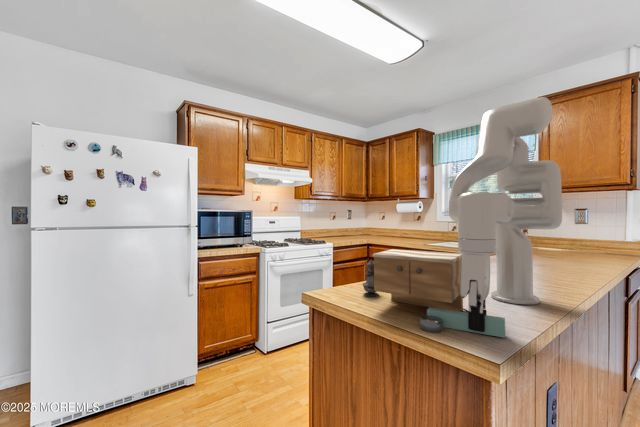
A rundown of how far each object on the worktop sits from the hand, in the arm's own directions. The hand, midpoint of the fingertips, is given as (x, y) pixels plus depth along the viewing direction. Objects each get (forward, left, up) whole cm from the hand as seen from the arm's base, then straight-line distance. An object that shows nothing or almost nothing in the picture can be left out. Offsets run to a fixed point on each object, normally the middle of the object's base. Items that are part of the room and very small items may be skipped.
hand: (477, 327), depth 66 cm
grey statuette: (-15, -33, -1) cm, 37 cm away
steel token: (+4, -9, -1) cm, 10 cm away
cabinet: (-7, -15, -1) cm, 17 cm away
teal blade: (0, -3, -1) cm, 3 cm away
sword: (-20, -13, -2) cm, 24 cm away
